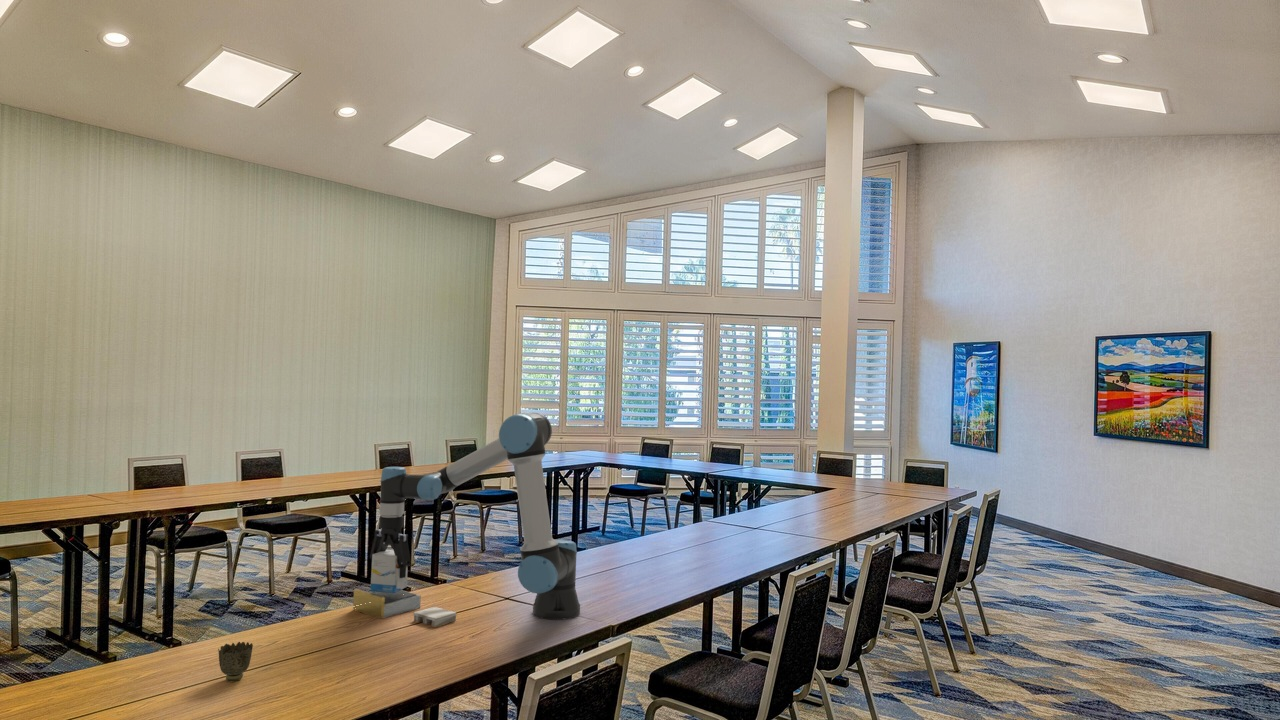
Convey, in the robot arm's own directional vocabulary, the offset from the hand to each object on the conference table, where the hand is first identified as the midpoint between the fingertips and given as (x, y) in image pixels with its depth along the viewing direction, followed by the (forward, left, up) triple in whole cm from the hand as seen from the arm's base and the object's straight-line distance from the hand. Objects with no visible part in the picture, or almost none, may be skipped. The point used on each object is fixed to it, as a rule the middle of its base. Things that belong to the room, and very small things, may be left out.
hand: (389, 584), depth 248 cm
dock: (0, 0, -7) cm, 7 cm away
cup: (-20, +60, -8) cm, 64 cm away
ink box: (0, 0, -2) cm, 2 cm away
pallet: (-21, -1, -7) cm, 22 cm away
